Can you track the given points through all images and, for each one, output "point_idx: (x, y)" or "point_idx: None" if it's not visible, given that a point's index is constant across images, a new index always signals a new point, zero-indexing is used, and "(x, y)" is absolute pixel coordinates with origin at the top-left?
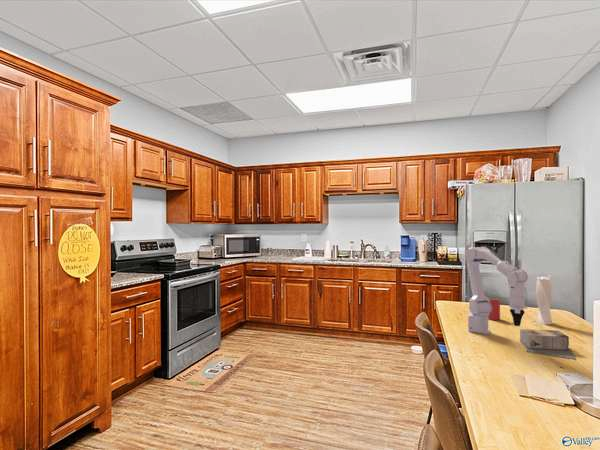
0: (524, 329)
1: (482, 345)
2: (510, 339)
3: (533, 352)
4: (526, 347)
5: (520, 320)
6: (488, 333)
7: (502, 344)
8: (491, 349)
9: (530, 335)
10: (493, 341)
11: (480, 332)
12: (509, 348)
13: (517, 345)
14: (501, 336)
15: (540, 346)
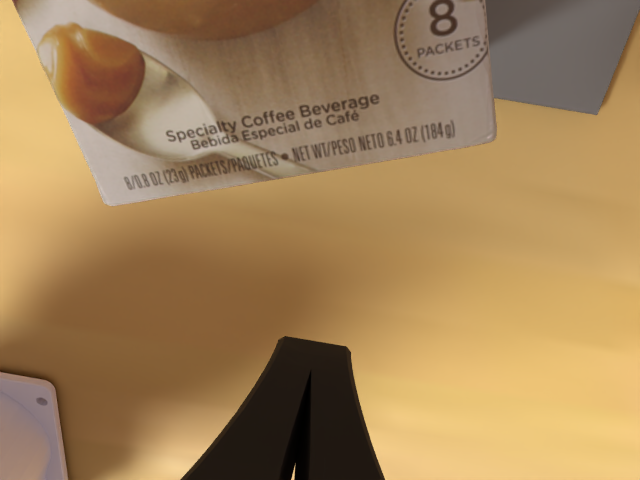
0: (95, 139)
1: (464, 475)
2: (101, 201)
3: (630, 31)
4: None
5: (377, 465)
6: (47, 389)
7: (359, 318)
8: (573, 434)
9: (494, 108)
10: None
11: (58, 442)
12: (491, 279)
13: (331, 170)
14: (35, 274)
15: None
